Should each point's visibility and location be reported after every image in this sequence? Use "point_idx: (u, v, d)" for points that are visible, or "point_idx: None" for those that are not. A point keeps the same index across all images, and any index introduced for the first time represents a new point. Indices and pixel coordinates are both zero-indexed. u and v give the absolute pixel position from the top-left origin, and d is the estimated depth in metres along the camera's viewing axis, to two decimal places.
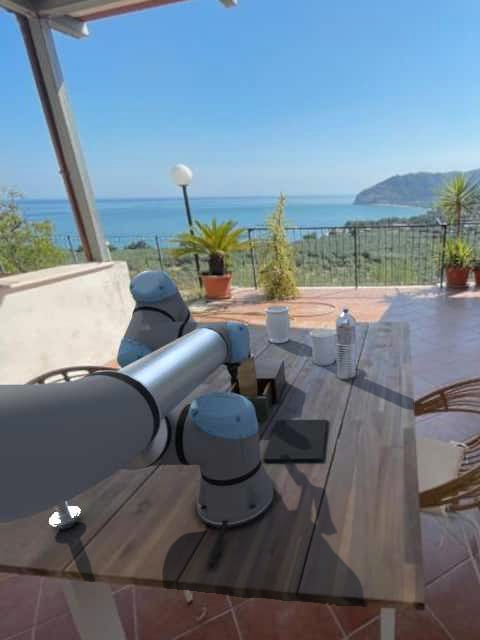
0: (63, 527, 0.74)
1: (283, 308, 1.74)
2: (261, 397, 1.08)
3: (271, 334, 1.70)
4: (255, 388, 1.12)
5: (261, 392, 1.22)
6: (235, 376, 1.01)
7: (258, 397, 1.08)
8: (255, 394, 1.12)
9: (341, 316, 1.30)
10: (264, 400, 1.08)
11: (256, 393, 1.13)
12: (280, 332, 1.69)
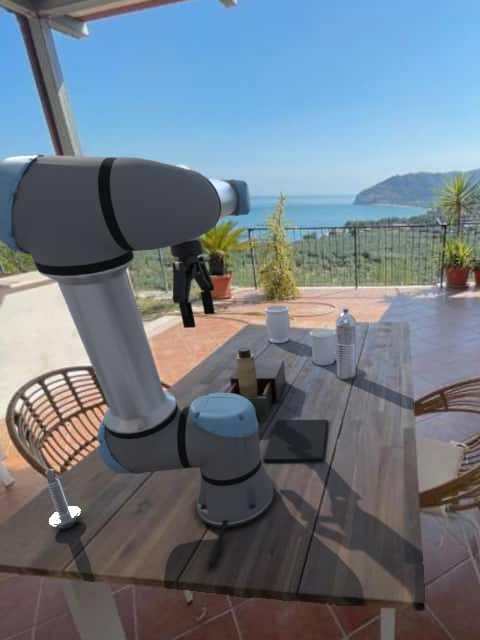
0: (63, 527, 0.74)
1: (283, 308, 1.74)
2: (261, 397, 1.08)
3: (271, 334, 1.70)
4: (255, 388, 1.12)
5: (261, 392, 1.22)
6: None
7: (258, 397, 1.08)
8: (255, 394, 1.12)
9: (341, 316, 1.30)
10: (264, 400, 1.08)
11: (256, 393, 1.13)
12: (280, 332, 1.69)
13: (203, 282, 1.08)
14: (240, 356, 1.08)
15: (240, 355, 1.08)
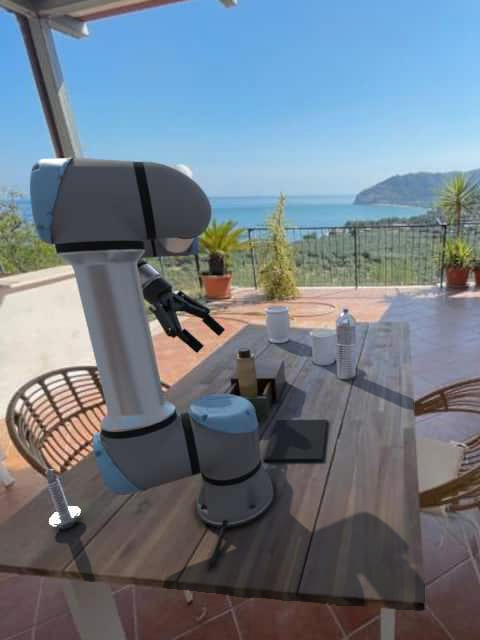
0: (63, 527, 0.74)
1: (283, 308, 1.74)
2: (261, 397, 1.08)
3: (271, 334, 1.70)
4: (255, 388, 1.12)
5: (261, 392, 1.22)
6: None
7: (258, 397, 1.08)
8: (255, 394, 1.12)
9: (341, 316, 1.30)
10: (264, 400, 1.08)
11: (256, 393, 1.13)
12: (280, 332, 1.69)
13: (195, 310, 1.11)
14: (240, 356, 1.08)
15: (240, 355, 1.08)
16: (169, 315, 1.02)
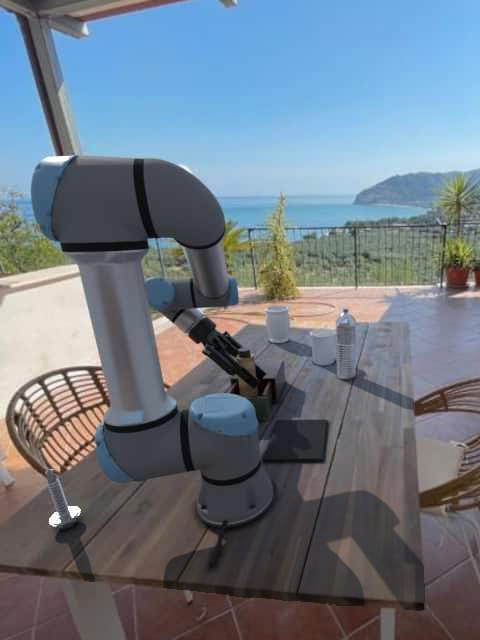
0: (63, 527, 0.74)
1: (283, 308, 1.74)
2: (261, 397, 1.08)
3: (271, 334, 1.70)
4: (255, 388, 1.12)
5: (261, 392, 1.22)
6: None
7: (258, 397, 1.08)
8: (255, 394, 1.12)
9: (341, 316, 1.30)
10: (264, 400, 1.08)
11: (256, 393, 1.13)
12: (280, 332, 1.69)
13: (237, 352, 1.12)
14: (240, 356, 1.08)
15: (240, 355, 1.08)
16: (222, 355, 1.06)
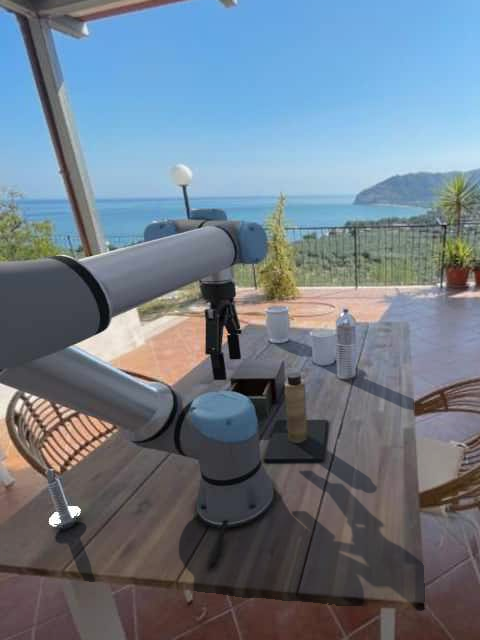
0: (63, 527, 0.74)
1: (283, 308, 1.74)
2: (261, 397, 1.08)
3: (271, 334, 1.70)
4: (305, 418, 0.99)
5: (261, 392, 1.22)
6: None
7: (258, 397, 1.08)
8: (305, 425, 0.99)
9: (341, 316, 1.30)
10: (264, 400, 1.08)
11: (305, 424, 1.00)
12: (280, 332, 1.69)
13: (231, 325, 0.96)
14: (290, 383, 0.95)
15: (290, 382, 0.95)
16: None
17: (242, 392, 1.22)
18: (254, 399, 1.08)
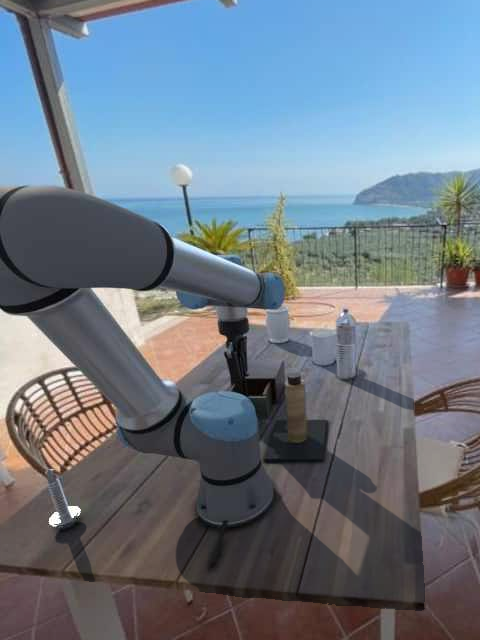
0: (63, 527, 0.74)
1: (283, 308, 1.74)
2: (261, 397, 1.08)
3: (271, 334, 1.70)
4: (305, 418, 0.99)
5: (261, 392, 1.22)
6: None
7: (258, 396, 1.08)
8: (305, 425, 0.99)
9: (341, 316, 1.30)
10: (264, 400, 1.08)
11: (305, 424, 1.00)
12: (280, 332, 1.69)
13: (241, 363, 1.04)
14: (290, 383, 0.95)
15: (290, 382, 0.95)
16: None
17: None
18: (254, 399, 1.08)
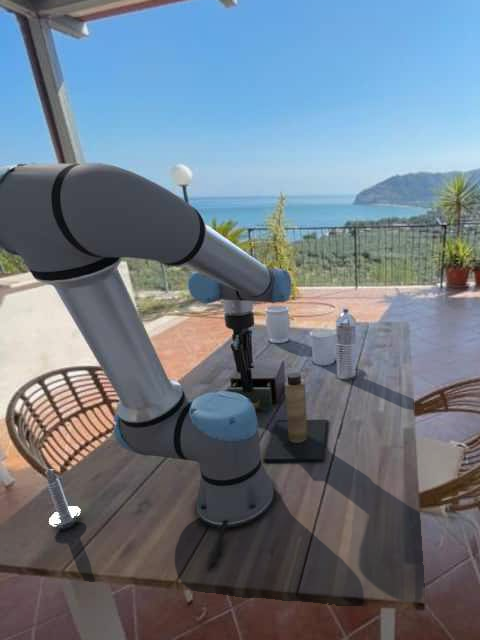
0: (63, 527, 0.74)
1: (283, 308, 1.74)
2: (265, 388, 1.13)
3: (271, 334, 1.70)
4: (305, 418, 0.99)
5: (265, 384, 1.27)
6: None
7: (262, 387, 1.14)
8: (305, 425, 0.99)
9: (341, 316, 1.30)
10: (268, 391, 1.13)
11: (305, 424, 1.00)
12: (280, 332, 1.69)
13: (246, 355, 1.09)
14: (290, 383, 0.95)
15: (290, 382, 0.95)
16: None
17: None
18: (259, 390, 1.13)
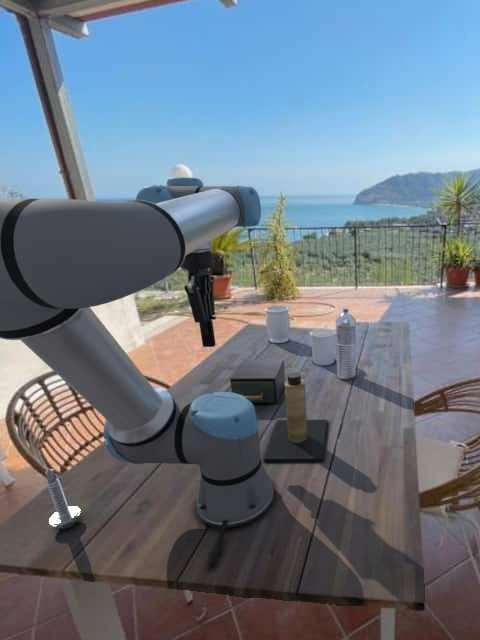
0: (63, 527, 0.74)
1: (283, 308, 1.74)
2: (268, 382, 1.17)
3: (271, 334, 1.70)
4: (305, 418, 0.99)
5: None
6: None
7: (266, 381, 1.18)
8: (305, 425, 0.99)
9: (341, 316, 1.30)
10: (271, 384, 1.17)
11: (305, 424, 1.00)
12: (280, 332, 1.69)
13: (206, 304, 0.95)
14: (290, 383, 0.95)
15: (290, 382, 0.95)
16: None
17: None
18: (262, 383, 1.17)
